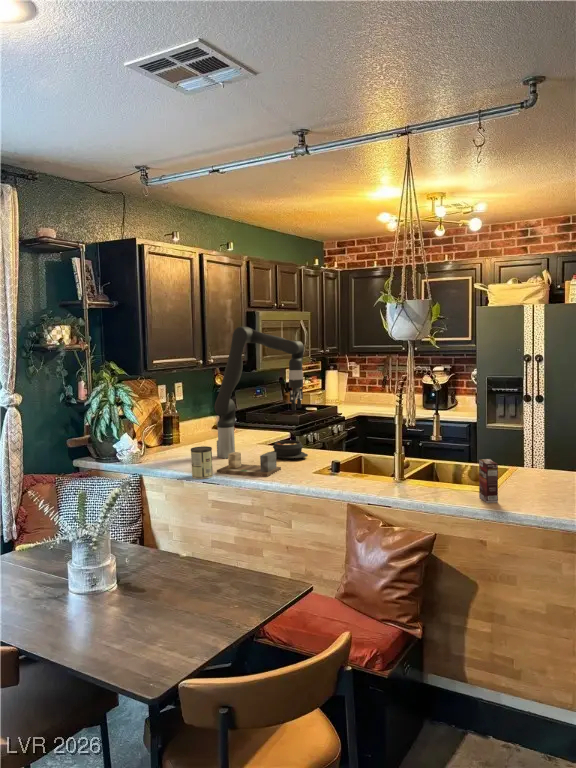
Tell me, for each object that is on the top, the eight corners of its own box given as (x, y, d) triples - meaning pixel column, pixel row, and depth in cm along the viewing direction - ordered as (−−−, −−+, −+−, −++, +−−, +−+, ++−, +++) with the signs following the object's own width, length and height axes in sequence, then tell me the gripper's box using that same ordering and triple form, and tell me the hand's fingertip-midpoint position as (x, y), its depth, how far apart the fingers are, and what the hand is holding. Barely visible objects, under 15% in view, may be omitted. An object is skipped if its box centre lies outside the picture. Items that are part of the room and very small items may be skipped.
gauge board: (216, 472, 308) (216, 454, 308) (232, 466, 323) (231, 448, 322) (267, 476, 297) (266, 457, 296) (280, 469, 312) (280, 451, 311)
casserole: (261, 457, 346) (260, 442, 345) (285, 452, 358) (285, 437, 358) (290, 463, 327) (290, 447, 327) (315, 457, 340) (315, 442, 339)
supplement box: (478, 497, 251) (478, 459, 250) (490, 497, 251) (490, 458, 250) (486, 503, 242) (486, 463, 241) (498, 502, 243) (498, 463, 241)
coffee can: (197, 473, 308) (196, 445, 307) (216, 474, 304) (215, 446, 303) (187, 478, 298) (186, 449, 297) (207, 479, 295) (206, 450, 294)
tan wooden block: (224, 469, 307) (224, 455, 307) (234, 465, 317) (233, 452, 316) (231, 470, 306) (231, 456, 305) (241, 466, 315) (240, 452, 314)
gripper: (293, 377, 334) (294, 407, 336) (284, 379, 321) (285, 410, 322) (307, 377, 332) (307, 407, 333) (298, 379, 318) (298, 410, 320)
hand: (296, 408), depth 328 cm, fingers open, 8 cm apart
